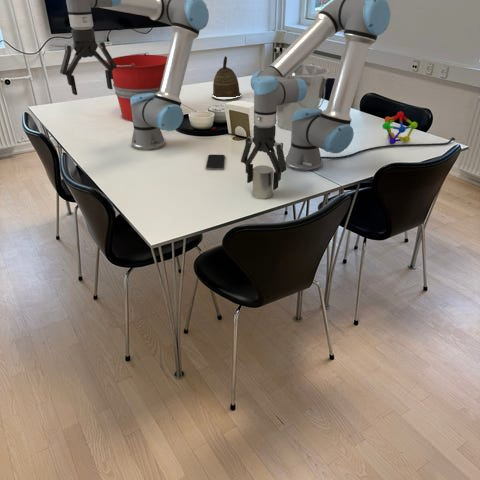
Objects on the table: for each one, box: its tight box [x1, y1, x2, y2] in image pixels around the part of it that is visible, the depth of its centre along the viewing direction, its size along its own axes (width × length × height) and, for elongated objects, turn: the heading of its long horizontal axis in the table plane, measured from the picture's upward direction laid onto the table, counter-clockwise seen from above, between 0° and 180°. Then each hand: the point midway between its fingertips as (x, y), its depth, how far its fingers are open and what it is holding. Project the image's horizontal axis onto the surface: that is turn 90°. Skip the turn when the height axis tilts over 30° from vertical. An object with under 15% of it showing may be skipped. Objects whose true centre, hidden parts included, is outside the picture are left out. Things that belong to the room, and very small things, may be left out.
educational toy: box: [382, 110, 418, 145], centre depth 207 cm, size 16×13×15 cm
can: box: [252, 164, 274, 200], centre depth 160 cm, size 7×7×10 cm
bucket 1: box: [105, 52, 168, 122], centre depth 240 cm, size 35×35×30 cm
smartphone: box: [205, 154, 226, 170], centre depth 188 cm, size 7×1×15 cm
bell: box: [212, 56, 242, 97], centre depth 278 cm, size 19×26×20 cm
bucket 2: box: [276, 63, 330, 131], centre depth 226 cm, size 30×30×28 cm
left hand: (92, 91), depth 163 cm, fingers open, 13 cm apart
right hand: (262, 185), depth 161 cm, fingers open, 10 cm apart
